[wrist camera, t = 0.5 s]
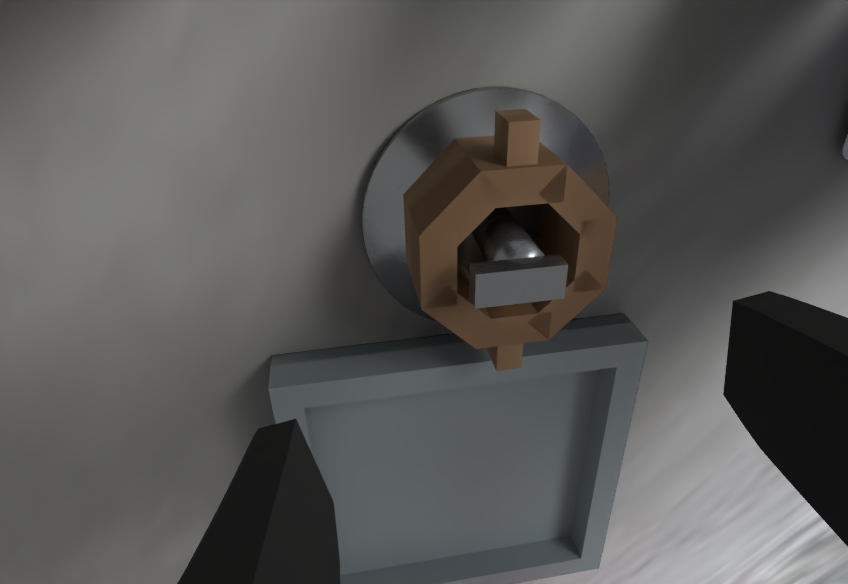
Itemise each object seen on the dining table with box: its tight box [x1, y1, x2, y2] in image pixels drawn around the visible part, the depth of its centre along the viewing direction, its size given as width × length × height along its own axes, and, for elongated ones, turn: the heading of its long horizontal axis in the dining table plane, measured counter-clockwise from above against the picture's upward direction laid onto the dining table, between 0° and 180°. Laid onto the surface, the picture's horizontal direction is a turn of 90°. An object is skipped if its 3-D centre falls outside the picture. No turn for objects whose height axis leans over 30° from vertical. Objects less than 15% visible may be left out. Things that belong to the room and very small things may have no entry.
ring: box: [403, 109, 617, 371], centre depth 17 cm, size 5×8×3 cm
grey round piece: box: [362, 87, 609, 321], centre depth 16 cm, size 8×8×5 cm
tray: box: [268, 314, 648, 584], centre depth 23 cm, size 13×13×2 cm
